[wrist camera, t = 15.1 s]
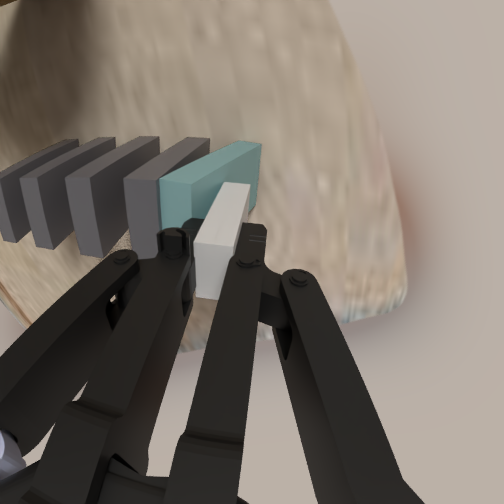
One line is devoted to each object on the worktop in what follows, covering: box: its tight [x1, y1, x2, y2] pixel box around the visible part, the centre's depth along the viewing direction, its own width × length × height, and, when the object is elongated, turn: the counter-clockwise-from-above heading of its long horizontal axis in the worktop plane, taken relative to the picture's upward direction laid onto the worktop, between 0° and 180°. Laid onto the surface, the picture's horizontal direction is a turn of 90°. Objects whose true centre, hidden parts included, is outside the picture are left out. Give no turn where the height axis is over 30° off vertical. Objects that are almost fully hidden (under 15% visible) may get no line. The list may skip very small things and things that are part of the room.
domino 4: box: [123, 137, 210, 259], centre depth 18 cm, size 2×5×10 cm, turn 175°
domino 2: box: [19, 137, 116, 250], centre depth 19 cm, size 2×5×10 cm, turn 175°
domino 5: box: [159, 141, 262, 230], centre depth 18 cm, size 2×5×10 cm, turn 174°
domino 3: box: [65, 136, 160, 258], centre depth 19 cm, size 2×5×10 cm, turn 175°
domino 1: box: [0, 139, 79, 243], centre depth 19 cm, size 2×5×10 cm, turn 175°
